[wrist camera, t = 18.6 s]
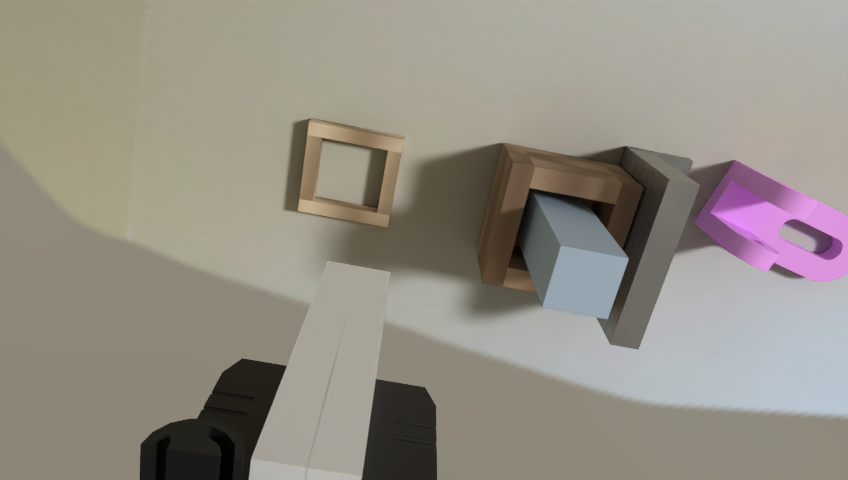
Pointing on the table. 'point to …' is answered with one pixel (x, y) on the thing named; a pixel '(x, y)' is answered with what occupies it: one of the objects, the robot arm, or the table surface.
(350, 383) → the robot arm
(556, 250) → the light blue square peg
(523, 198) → the brown wooden box
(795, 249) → the bracket
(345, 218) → the stand
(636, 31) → the table surface
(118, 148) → the table surface
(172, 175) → the table surface
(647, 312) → the backstop
